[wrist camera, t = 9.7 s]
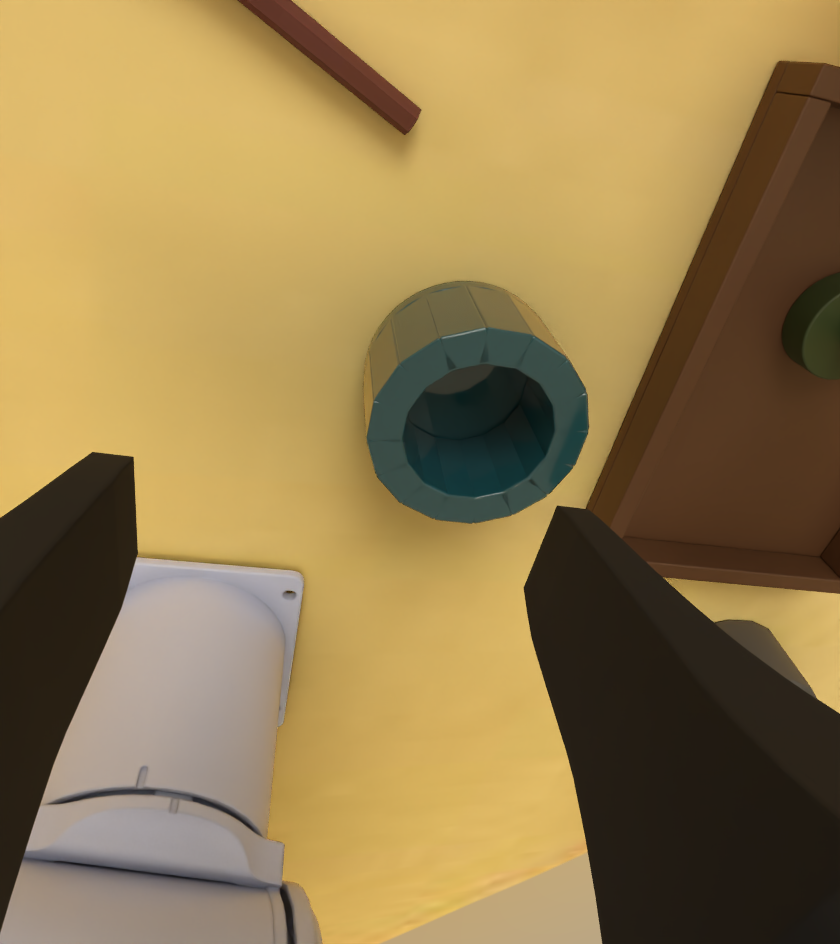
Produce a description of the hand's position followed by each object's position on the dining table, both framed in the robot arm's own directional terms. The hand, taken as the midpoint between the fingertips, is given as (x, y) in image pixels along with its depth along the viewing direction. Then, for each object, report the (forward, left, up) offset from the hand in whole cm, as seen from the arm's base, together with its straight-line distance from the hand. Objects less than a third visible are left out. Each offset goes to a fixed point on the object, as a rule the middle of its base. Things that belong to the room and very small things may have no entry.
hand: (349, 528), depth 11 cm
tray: (+1, -16, -10) cm, 19 cm away
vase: (-1, -4, -10) cm, 11 cm away
